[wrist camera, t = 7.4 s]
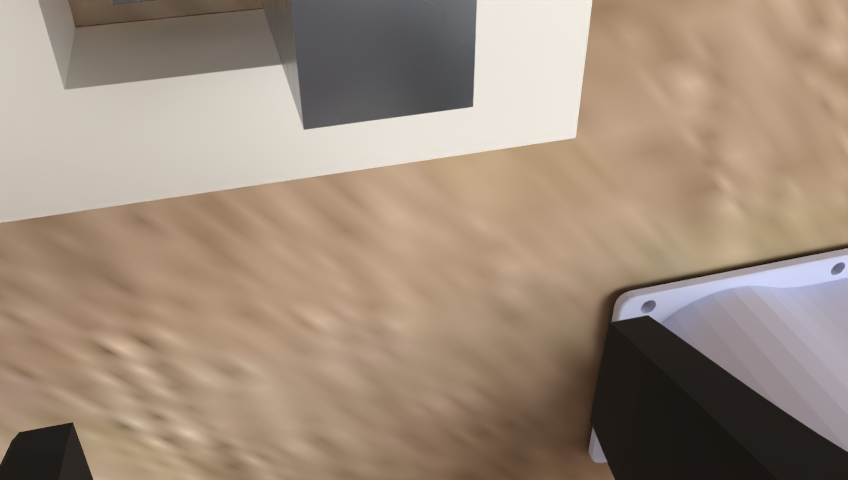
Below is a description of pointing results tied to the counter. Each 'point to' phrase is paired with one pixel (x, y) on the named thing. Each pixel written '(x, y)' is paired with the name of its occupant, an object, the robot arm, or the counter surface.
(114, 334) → the counter surface
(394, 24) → the stepped metal block
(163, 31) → the white rectangular frame
